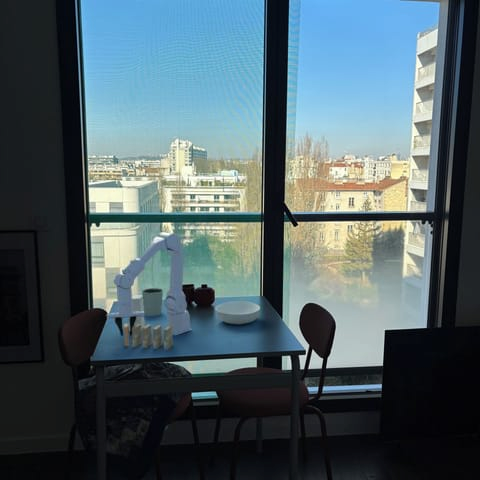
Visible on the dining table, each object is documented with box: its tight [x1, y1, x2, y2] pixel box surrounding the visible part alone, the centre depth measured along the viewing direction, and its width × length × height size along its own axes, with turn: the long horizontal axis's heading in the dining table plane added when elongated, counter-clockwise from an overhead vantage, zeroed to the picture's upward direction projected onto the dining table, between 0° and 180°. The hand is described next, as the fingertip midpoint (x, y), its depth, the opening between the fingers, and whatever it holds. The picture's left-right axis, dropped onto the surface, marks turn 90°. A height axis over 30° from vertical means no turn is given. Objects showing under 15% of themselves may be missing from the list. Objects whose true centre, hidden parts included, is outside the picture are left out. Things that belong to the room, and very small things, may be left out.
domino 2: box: [141, 324, 153, 349], centre depth 187 cm, size 2×5×8 cm, turn 167°
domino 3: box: [152, 324, 163, 350], centre depth 186 cm, size 2×5×8 cm, turn 167°
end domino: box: [123, 323, 130, 347], centre depth 189 cm, size 2×5×8 cm, turn 11°
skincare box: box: [127, 294, 146, 332], centre depth 207 cm, size 8×6×15 cm
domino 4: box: [163, 325, 174, 350], centre depth 185 cm, size 2×5×8 cm, turn 167°
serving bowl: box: [215, 301, 261, 325], centre depth 216 cm, size 21×21×7 cm
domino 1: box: [131, 324, 143, 348], centre depth 188 cm, size 2×5×8 cm, turn 167°
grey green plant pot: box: [141, 287, 164, 317], centre depth 230 cm, size 10×10×12 cm
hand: (126, 334), depth 189 cm, fingers open, 3 cm apart
